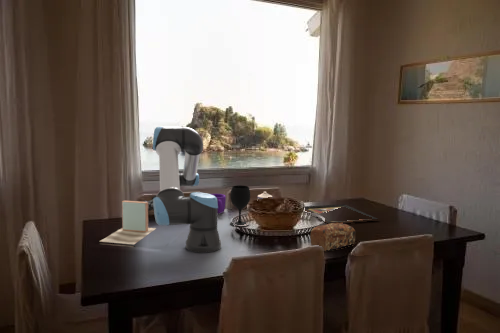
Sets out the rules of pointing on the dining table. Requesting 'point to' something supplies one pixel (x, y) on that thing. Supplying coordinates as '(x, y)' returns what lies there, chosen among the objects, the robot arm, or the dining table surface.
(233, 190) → the wine glass
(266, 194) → the teacup with lid
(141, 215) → the tile
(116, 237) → the board
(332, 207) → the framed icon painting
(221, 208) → the mug
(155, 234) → the dining table surface
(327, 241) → the bread
